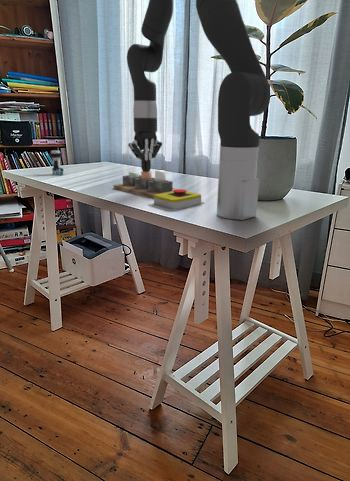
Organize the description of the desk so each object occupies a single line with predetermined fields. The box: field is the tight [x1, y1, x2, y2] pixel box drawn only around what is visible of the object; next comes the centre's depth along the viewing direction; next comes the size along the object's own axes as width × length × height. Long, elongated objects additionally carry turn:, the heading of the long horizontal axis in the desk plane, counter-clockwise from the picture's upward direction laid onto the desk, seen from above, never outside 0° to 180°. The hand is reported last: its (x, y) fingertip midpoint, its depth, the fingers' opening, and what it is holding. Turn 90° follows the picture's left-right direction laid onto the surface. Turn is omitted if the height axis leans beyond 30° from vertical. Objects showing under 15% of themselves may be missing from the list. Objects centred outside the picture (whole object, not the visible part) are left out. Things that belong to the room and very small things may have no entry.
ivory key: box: [154, 169, 167, 183], centre depth 109 cm, size 3×3×4 cm
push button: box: [48, 150, 64, 176], centre depth 145 cm, size 7×5×10 cm
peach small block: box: [140, 170, 153, 180], centre depth 114 cm, size 3×3×4 cm
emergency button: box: [147, 188, 205, 212], centre depth 98 cm, size 9×4×15 cm
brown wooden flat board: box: [113, 174, 177, 200], centre depth 115 cm, size 22×12×4 cm, turn 44°
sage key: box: [128, 171, 140, 177], centre depth 120 cm, size 3×3×4 cm
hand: (146, 171), depth 114 cm, fingers closed
